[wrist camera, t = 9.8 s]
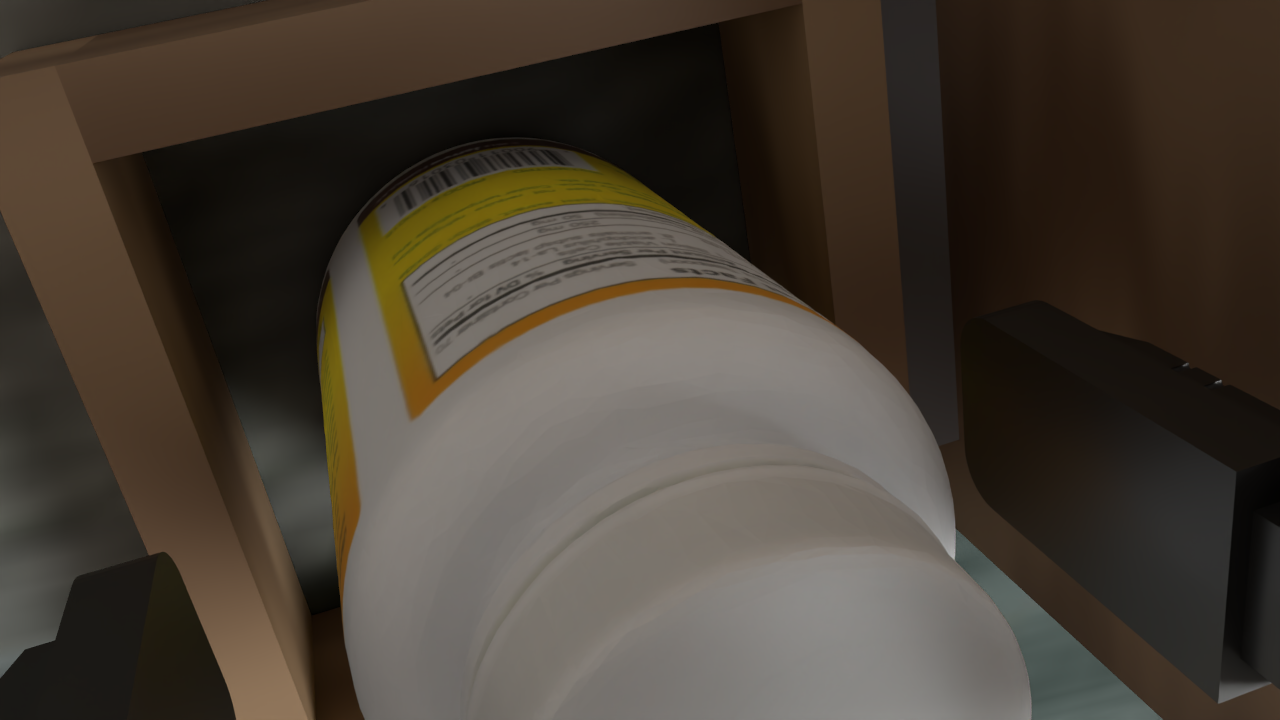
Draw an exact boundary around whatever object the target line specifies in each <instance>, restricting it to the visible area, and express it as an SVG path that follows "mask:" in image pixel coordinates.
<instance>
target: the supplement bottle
mask: <svg viewBox="0 0 1280 720" xmlns="http://www.w3.org/2000/svg"><path fill="white" fill-rule="evenodd" d="M316 341H317V359H318V369H319V378H320V385H321V395H322V405H323V417H324V431H325V437H326V453H327V464H328V473H329V484H330V495H331V502H332V512H333V529H334V539H335V549H336V559H337V573H338V580H339V591H340V600H341V614H342V624H343V633H344V642H345V647H346V651H347V656H348V661H349V665H350V670H351V675H352V679H353V684H354V688H355V692H356V696H357V699H358V703H359V707H360V709H361V712H362V714H363V717H364V719H365V720H1031V705H1032V703H1031V693H1030V683H1029V677H1028V673H1027V669H1026V665H1025V661H1024V658H1023V655H1022V653H1021V650H1020V647H1019V644H1018V642H1017V640H1016V637H1015V635H1014V633H1013V631H1012V629H1011V627H1010V625H1009V624H1008V622H1007V621H1006V619H1005V618H1004V616H1003V615H1002V613H1001V612H1000V611H999V609H998V608H997V606H996V605H995V603H994V602H993V600H992V599H991V598H990V596H989V595H988V594H987V593H986V592H985V591H984V590H983V589H982V588H981V587H980V586H979V585H978V584H977V583H976V582H975V581H974V580H973V579H972V578H971V577H970V576H969V575H968V573H967V572H966V571H965V570H964V569H963V568H962V567H961V566H960V565H959V564H958V563H957V562H956V561H955V514H954V505H953V497H952V493H951V488H950V483H949V478H948V475H947V471H946V468H945V464H944V461H943V458H942V454H941V451H940V449H939V447H938V444H937V442H936V440H935V437H934V435H933V433H932V431H931V429H930V428H929V426H928V424H927V422H926V421H925V419H924V417H923V415H922V413H921V412H920V410H919V408H918V407H917V405H916V404H915V402H914V401H913V400H912V398H911V397H910V395H909V394H908V393H907V392H906V390H905V389H904V388H903V387H902V385H901V384H900V383H899V382H898V380H897V379H896V378H895V377H894V376H893V375H892V374H891V373H890V372H889V371H888V370H887V369H886V368H885V367H884V366H883V365H882V364H881V363H880V362H879V361H878V360H877V359H876V358H874V357H873V356H872V355H871V354H870V353H869V352H868V351H867V350H866V349H865V348H864V347H863V346H862V345H861V344H859V343H858V342H857V341H856V340H855V339H853V338H852V337H851V336H849V335H848V334H847V333H845V332H844V331H843V330H842V329H840V328H839V327H837V326H836V325H834V324H833V323H832V322H830V321H829V320H828V319H826V318H825V317H824V316H822V315H821V314H819V313H818V312H816V311H815V310H813V309H812V308H811V307H810V306H808V305H807V304H805V303H804V302H803V301H801V300H800V299H798V298H797V297H795V296H794V295H793V294H791V293H790V292H789V291H787V290H786V289H785V288H783V287H782V286H781V285H779V284H778V283H777V282H775V281H774V280H773V279H771V278H770V277H769V276H767V275H766V274H765V273H763V272H762V271H761V270H759V269H758V268H756V267H755V266H754V265H752V264H751V263H750V262H748V261H747V260H746V259H744V258H743V257H742V256H740V255H739V254H738V253H737V252H735V251H734V250H732V249H731V248H730V247H729V246H727V245H726V244H725V243H724V242H722V241H720V240H719V239H718V238H716V237H715V236H714V235H713V234H711V233H710V232H708V231H707V230H705V229H704V228H702V227H701V226H699V225H698V224H697V223H695V222H694V221H693V220H691V219H690V218H688V217H687V216H686V215H685V214H683V213H682V212H680V211H679V210H678V209H676V208H675V207H674V206H672V205H671V204H669V203H668V202H667V201H665V200H664V199H663V198H661V197H660V196H658V195H657V194H656V193H654V192H653V191H652V190H650V189H649V188H648V187H646V186H645V185H644V184H643V183H641V182H640V181H639V180H638V179H636V178H635V177H633V176H632V175H630V174H629V173H627V172H626V171H625V170H623V169H622V168H620V167H619V166H617V165H615V164H613V163H611V162H609V161H607V160H605V159H603V158H601V157H599V156H597V155H595V154H593V153H590V152H588V151H586V150H583V149H580V148H577V147H574V146H571V145H567V144H564V143H559V142H555V141H551V140H544V139H536V138H519V137H512V138H494V139H486V140H479V141H475V142H470V143H466V144H463V145H459V146H455V147H453V148H450V149H447V150H444V151H441V152H439V153H436V154H434V155H432V156H430V157H428V158H426V159H424V160H422V161H420V162H418V163H417V164H415V165H413V166H411V167H410V168H408V169H406V170H405V171H403V172H402V173H400V174H399V175H398V176H396V177H395V178H393V179H392V180H391V181H390V182H388V183H387V184H386V185H385V186H384V187H383V188H381V189H380V190H379V191H378V192H377V193H376V194H375V195H374V196H373V197H372V198H371V199H370V200H369V201H368V202H367V203H366V204H365V205H364V207H363V208H362V209H361V210H360V211H359V212H358V213H357V215H356V216H355V217H354V219H353V220H352V221H351V223H350V224H349V226H348V227H347V229H346V230H345V232H344V233H343V235H342V237H341V238H340V240H339V242H338V244H337V246H336V248H335V250H334V252H333V254H332V257H331V259H330V261H329V264H328V266H327V269H326V273H325V276H324V279H323V282H322V287H321V291H320V295H319V300H318V308H317V320H316Z"/></svg>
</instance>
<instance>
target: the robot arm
mask: <svg viewBox="0 0 1280 720" xmlns="http://www.w3.org/2000/svg"><path fill="white" fill-rule="evenodd" d="M960 351H961V374H962V397H963V420H964V443H965V455H966V461H967V465H968V468H969V472H970V474H971V477H972V480H973V482H974V484H975V486H976V488H977V490H978V492H979V493H980V495H981V496H982V498H983V499H984V500H985V502H986V503H987V504H988V505H989V506H990V507H991V508H992V509H993V510H994V511H995V512H996V513H998V514H999V515H1000V516H1001V517H1002V518H1003V519H1004V520H1006V521H1007V522H1008V523H1009V524H1010V525H1011V526H1013V527H1014V528H1015V529H1016V530H1017V531H1018V532H1020V533H1021V534H1022V535H1023V536H1024V537H1025V538H1026V539H1028V540H1029V541H1030V542H1031V543H1032V544H1033V545H1035V546H1036V547H1037V548H1038V549H1039V550H1040V551H1042V552H1043V553H1044V554H1045V555H1046V556H1047V557H1048V558H1050V559H1051V560H1052V561H1053V562H1054V563H1055V564H1057V565H1058V566H1059V567H1060V568H1061V569H1062V570H1064V571H1065V572H1066V573H1067V574H1068V575H1069V576H1070V577H1072V578H1073V579H1074V580H1075V581H1076V582H1077V583H1079V584H1080V585H1081V586H1082V587H1083V588H1084V589H1086V590H1087V591H1088V592H1089V593H1090V594H1091V595H1092V596H1094V597H1095V598H1096V599H1097V600H1098V601H1099V602H1101V603H1102V604H1103V605H1104V606H1105V607H1106V608H1108V609H1109V610H1110V611H1111V612H1112V613H1113V614H1114V615H1116V616H1117V617H1118V618H1119V619H1120V620H1121V621H1123V622H1124V623H1125V624H1126V625H1127V626H1128V627H1130V628H1131V629H1132V630H1133V631H1134V632H1135V633H1136V634H1138V635H1139V636H1140V637H1141V638H1142V639H1143V640H1145V641H1146V642H1147V643H1148V644H1149V645H1150V646H1151V647H1153V648H1154V649H1155V650H1156V651H1157V652H1158V653H1160V654H1161V655H1162V656H1163V657H1164V658H1165V659H1167V660H1168V661H1169V662H1170V663H1171V664H1172V665H1173V666H1175V667H1176V668H1177V669H1178V670H1179V671H1180V672H1182V673H1183V674H1184V675H1185V676H1186V677H1187V678H1189V679H1190V680H1191V681H1192V682H1193V683H1194V684H1195V685H1197V686H1198V687H1199V688H1200V689H1201V690H1202V691H1204V692H1205V693H1206V694H1207V695H1208V696H1209V697H1211V698H1212V699H1213V700H1214V701H1215V702H1216V703H1217V704H1220V703H1222V702H1225V701H1227V700H1230V699H1233V698H1235V697H1238V696H1240V695H1243V694H1246V693H1248V692H1251V691H1253V690H1256V689H1258V688H1261V687H1264V686H1266V685H1269V684H1271V683H1272V684H1273V685H1275V686H1276V687H1277V688H1278V689H1280V410H1279V409H1277V408H1275V407H1273V406H1271V405H1269V404H1267V403H1265V402H1263V401H1261V400H1259V399H1258V398H1256V397H1254V396H1252V395H1250V394H1248V393H1246V392H1244V391H1242V390H1240V389H1238V388H1236V387H1234V386H1232V385H1226V386H1224V385H1223V384H1222V380H1221V379H1219V378H1217V377H1215V376H1213V375H1211V374H1209V373H1207V372H1205V371H1203V370H1201V369H1199V368H1197V367H1195V368H1192V369H1191V368H1190V367H1189V363H1188V362H1186V361H1184V360H1182V359H1180V358H1178V357H1176V356H1174V355H1172V354H1170V353H1168V352H1166V351H1164V350H1163V349H1161V348H1159V347H1157V346H1155V345H1153V344H1151V343H1149V342H1145V341H1141V340H1137V339H1133V338H1129V337H1125V336H1121V335H1116V334H1112V333H1108V332H1104V331H1100V330H1097V329H1095V328H1093V327H1092V326H1090V325H1088V324H1086V323H1084V322H1082V321H1080V320H1078V319H1077V318H1075V317H1073V316H1071V315H1069V314H1067V313H1065V312H1063V311H1062V310H1060V309H1058V308H1056V307H1054V306H1052V305H1050V304H1048V303H1046V302H1044V301H1040V300H1034V301H1030V302H1026V303H1023V304H1019V305H1016V306H1013V307H1009V308H1006V309H1002V310H999V311H995V312H992V313H988V314H985V315H982V316H978V317H975V318H972V319H970V320H968V321H967V323H966V324H965V325H964V327H963V330H962V333H961V340H960ZM0 720H236V716H235V711H234V707H233V703H232V699H231V696H230V693H229V690H228V687H227V684H226V682H225V679H224V677H223V674H222V672H221V669H220V667H219V665H218V662H217V660H216V658H215V655H214V653H213V650H212V648H211V646H210V643H209V641H208V638H207V636H206V634H205V631H204V629H203V627H202V624H201V622H200V619H199V617H198V615H197V612H196V610H195V607H194V605H193V603H192V600H191V598H190V596H189V593H188V591H187V588H186V586H185V584H184V581H183V579H182V576H181V574H180V572H179V570H178V568H177V566H176V564H175V562H174V561H173V560H172V558H171V557H170V556H169V555H168V554H167V553H166V552H160V553H156V554H153V555H149V556H146V557H142V558H139V559H135V560H132V561H129V562H125V563H122V564H118V565H115V566H111V567H108V568H104V569H101V570H98V571H94V572H91V573H87V574H84V575H80V576H78V577H76V579H75V580H74V582H73V584H72V587H71V590H70V594H69V597H68V600H67V603H66V607H65V610H64V613H63V617H62V620H61V623H60V626H59V630H58V633H57V636H56V640H55V641H52V642H49V643H45V644H42V645H39V646H35V647H32V648H29V649H25V650H24V651H23V653H22V654H21V655H20V656H19V657H18V658H17V660H16V661H15V662H14V663H13V664H12V665H11V667H10V668H9V669H8V670H7V671H6V672H5V674H4V675H3V676H2V677H1V678H0Z"/></svg>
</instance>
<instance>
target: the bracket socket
mask: <svg viewBox="0 0 1280 720" xmlns="http://www.w3.org/2000/svg"><path fill="white" fill-rule="evenodd" d="M718 22H719V29H720V37H721V44H722V52H723V59H724V67H725V74H726V81H727V89H728V96H729V104H730V111H731V118H732V126H733V133H734V141H735V148H736V156H737V163H738V170H739V178H740V185H741V193H742V200H743V207H744V215H745V222H746V230H747V237H748V245H749V252H750V259H751V264H752V265H754V266H755V267H756V268H758V269H759V270H761V271H762V272H763V273H765V274H766V275H767V276H769V277H770V278H771V279H773V280H774V281H775V282H777V283H778V284H779V285H781V286H782V287H783V288H785V289H786V290H787V291H789V292H790V293H791V294H793V295H794V296H795V297H797V298H798V299H800V300H801V301H803V302H804V303H805V304H807V305H808V306H810V307H811V308H812V309H813V310H815V311H816V312H818V313H819V314H821V315H822V316H824V317H825V318H826V319H828V320H829V321H830V322H832V323H833V324H834V325H836V326H837V327H839V328H840V329H842V330H843V331H844V332H845V333H847V334H848V335H849V336H851V337H852V338H853V339H855V340H856V341H857V342H858V343H859V344H861V345H862V346H863V347H864V348H865V349H866V350H867V351H868V352H869V353H870V354H871V355H872V356H873V357H874V358H876V359H877V360H878V361H879V362H880V363H881V364H882V365H883V366H884V367H885V368H886V369H887V370H888V371H889V372H890V373H891V374H892V375H893V376H894V377H895V378H896V379H897V380H898V382H899V383H900V384H901V385H902V387H903V388H904V389H905V390H906V392H907V393H908V394H909V395H910V397H911V398H912V400H913V401H914V402H915V404H916V405H917V407H918V408H919V410H920V412H921V413H922V415H923V417H924V419H925V421H926V422H927V424H928V426H929V428H930V429H931V431H932V433H933V435H934V437H935V440H936V442H937V444H938V447H939V449H940V451H941V454H942V458H943V461H944V464H945V468H946V471H947V475H948V478H949V483H950V488H951V493H952V497H953V505H954V514H955V528H956V529H957V530H958V531H959V532H960V533H961V534H962V535H963V536H965V537H966V538H967V539H968V540H969V541H970V542H971V543H972V544H973V545H974V546H975V547H977V548H978V549H979V550H980V551H981V552H982V553H983V554H984V555H985V556H986V557H987V558H988V559H990V560H991V561H992V562H993V563H994V564H995V565H996V566H997V567H998V568H999V569H1000V570H1001V571H1003V572H1004V573H1005V574H1006V575H1007V576H1008V577H1009V578H1010V579H1011V580H1012V581H1013V582H1015V583H1016V584H1017V585H1018V586H1019V587H1020V588H1021V589H1022V590H1023V591H1024V592H1025V593H1026V594H1028V595H1029V596H1030V597H1031V598H1032V599H1033V600H1034V601H1035V602H1036V603H1037V604H1038V605H1040V606H1041V607H1042V608H1043V609H1044V610H1045V611H1046V612H1047V613H1048V614H1049V615H1050V616H1051V617H1053V618H1054V619H1055V620H1056V621H1057V622H1058V623H1059V624H1060V625H1061V626H1062V627H1063V628H1064V629H1066V630H1067V631H1068V632H1069V633H1070V634H1071V635H1072V636H1073V637H1074V638H1075V639H1076V640H1078V641H1079V642H1080V643H1081V644H1082V645H1083V646H1084V647H1085V648H1086V649H1087V650H1088V651H1089V652H1091V653H1092V654H1093V655H1094V656H1095V657H1096V658H1097V659H1098V660H1099V661H1100V662H1101V663H1102V664H1104V665H1105V666H1106V667H1107V668H1108V669H1109V670H1110V671H1111V672H1112V673H1113V674H1114V675H1116V676H1117V677H1118V678H1119V679H1120V680H1121V681H1122V682H1123V683H1124V684H1125V685H1126V686H1127V687H1129V688H1130V689H1131V690H1132V691H1133V692H1134V693H1135V694H1136V695H1137V696H1138V697H1139V698H1140V699H1142V700H1143V701H1144V702H1145V703H1146V704H1147V705H1148V706H1149V707H1150V708H1151V709H1152V710H1154V711H1155V712H1156V713H1157V714H1158V715H1159V716H1160V717H1161V718H1162V719H1163V720H1280V689H1278V688H1277V687H1276V686H1275V685H1273V684H1272V683H1271V684H1269V685H1266V686H1264V687H1261V688H1258V689H1256V690H1253V691H1251V692H1248V693H1246V694H1243V695H1240V696H1238V697H1235V698H1233V699H1230V700H1227V701H1225V702H1222V703H1220V704H1217V703H1216V702H1215V701H1214V700H1213V699H1212V698H1211V697H1209V696H1208V695H1207V694H1206V693H1205V692H1204V691H1202V690H1201V689H1200V688H1199V687H1198V686H1197V685H1195V684H1194V683H1193V682H1192V681H1191V680H1190V679H1189V678H1187V677H1186V676H1185V675H1184V674H1183V673H1182V672H1180V671H1179V670H1178V669H1177V668H1176V667H1175V666H1173V665H1172V664H1171V663H1170V662H1169V661H1168V660H1167V659H1165V658H1164V657H1163V656H1162V655H1161V654H1160V653H1158V652H1157V651H1156V650H1155V649H1154V648H1153V647H1151V646H1150V645H1149V644H1148V643H1147V642H1146V641H1145V640H1143V639H1142V638H1141V637H1140V636H1139V635H1138V634H1136V633H1135V632H1134V631H1133V630H1132V629H1131V628H1130V627H1128V626H1127V625H1126V624H1125V623H1124V622H1123V621H1121V620H1120V619H1119V618H1118V617H1117V616H1116V615H1114V614H1113V613H1112V612H1111V611H1110V610H1109V609H1108V608H1106V607H1105V606H1104V605H1103V604H1102V603H1101V602H1099V601H1098V600H1097V599H1096V598H1095V597H1094V596H1092V595H1091V594H1090V593H1089V592H1088V591H1087V590H1086V589H1084V588H1083V587H1082V586H1081V585H1080V584H1079V583H1077V582H1076V581H1075V580H1074V579H1073V578H1072V577H1070V576H1069V575H1068V574H1067V573H1066V572H1065V571H1064V570H1062V569H1061V568H1060V567H1059V566H1058V565H1057V564H1055V563H1054V562H1053V561H1052V560H1051V559H1050V558H1048V557H1047V556H1046V555H1045V554H1044V553H1043V552H1042V551H1040V550H1039V549H1038V548H1037V547H1036V546H1035V545H1033V544H1032V543H1031V542H1030V541H1029V540H1028V539H1026V538H1025V537H1024V536H1023V535H1022V534H1021V533H1020V532H1018V531H1017V530H1016V529H1015V528H1014V527H1013V526H1011V525H1010V524H1009V523H1008V522H1007V521H1006V520H1004V519H1003V518H1002V517H1001V516H1000V515H999V514H998V513H996V512H995V511H994V510H993V509H992V508H991V507H990V506H989V505H988V504H987V503H986V502H985V500H984V499H983V498H982V496H981V495H980V493H979V492H978V490H977V488H976V486H975V484H974V482H973V480H972V477H971V474H970V472H969V468H968V465H967V461H966V455H965V443H964V420H963V397H962V374H961V351H960V340H961V333H962V330H963V327H964V325H965V324H966V323H967V321H968V320H970V319H972V318H975V317H978V316H982V315H985V314H988V313H992V312H995V311H999V310H1002V309H1006V308H1009V307H1013V306H1016V305H1019V304H1023V303H1026V302H1030V301H1034V300H1040V301H1044V302H1046V303H1048V304H1050V305H1052V306H1054V307H1056V308H1058V309H1060V310H1062V311H1063V312H1065V313H1067V314H1069V315H1071V316H1073V317H1075V318H1077V319H1078V320H1080V321H1082V322H1084V323H1086V324H1088V325H1090V326H1092V327H1093V328H1095V329H1097V330H1100V331H1104V332H1108V333H1112V334H1116V335H1121V336H1125V337H1129V338H1133V339H1137V340H1141V341H1145V342H1149V343H1151V344H1153V345H1155V346H1157V347H1159V348H1161V349H1163V350H1164V351H1166V352H1168V353H1170V354H1172V355H1174V356H1176V357H1178V358H1180V359H1182V360H1184V361H1186V362H1188V363H1189V367H1190V368H1191V369H1192V368H1195V367H1197V368H1199V369H1201V370H1203V371H1205V372H1207V373H1209V374H1211V375H1213V376H1215V377H1217V378H1219V379H1221V380H1222V384H1223V385H1224V386H1226V385H1232V386H1234V387H1236V388H1238V389H1240V390H1242V391H1244V392H1246V393H1248V394H1250V395H1252V396H1254V397H1256V398H1258V399H1259V400H1261V401H1263V402H1265V403H1267V404H1269V405H1271V406H1273V407H1275V408H1277V409H1279V410H1280V0H267V1H262V2H257V3H252V4H247V5H242V6H238V7H233V8H228V9H223V10H218V11H213V12H208V13H203V14H198V15H193V16H188V17H183V18H179V19H174V20H169V21H164V22H159V23H154V24H149V25H144V26H139V27H134V28H129V29H125V30H120V31H115V32H110V33H105V34H100V35H95V36H90V37H85V38H80V39H75V40H70V41H66V42H61V43H56V44H51V45H46V46H41V47H36V48H31V49H26V50H21V51H16V52H12V53H11V54H9V55H7V56H5V57H3V58H2V59H0V211H1V214H2V216H3V218H4V221H5V223H6V225H7V228H8V230H9V232H10V235H11V237H12V239H13V242H14V244H15V246H16V248H17V251H18V253H19V255H20V258H21V260H22V262H23V265H24V267H25V269H26V272H27V274H28V276H29V279H30V281H31V283H32V286H33V288H34V290H35V293H36V295H37V297H38V299H39V302H40V304H41V306H42V309H43V311H44V313H45V316H46V318H47V320H48V323H49V325H50V327H51V330H52V332H53V334H54V337H55V339H56V341H57V343H58V346H59V348H60V350H61V353H62V355H63V357H64V360H65V362H66V364H67V367H68V369H69V371H70V374H71V376H72V378H73V381H74V383H75V385H76V387H77V390H78V392H79V394H80V397H81V399H82V401H83V404H84V406H85V408H86V411H87V413H88V415H89V418H90V420H91V422H92V425H93V427H94V429H95V432H96V434H97V436H98V438H99V441H100V443H101V445H102V448H103V450H104V452H105V455H106V457H107V459H108V462H109V464H110V466H111V469H112V471H113V473H114V476H115V478H116V480H117V482H118V485H119V487H120V489H121V492H122V494H123V496H124V499H125V501H126V503H127V506H128V508H129V510H130V513H131V515H132V517H133V520H134V522H135V524H136V526H137V529H138V531H139V533H140V536H141V538H142V540H143V543H144V545H145V547H146V550H147V552H148V554H149V555H153V554H156V553H160V552H166V553H167V554H168V555H169V556H170V557H171V558H172V560H173V561H174V562H175V564H176V566H177V568H178V570H179V572H180V574H181V576H182V579H183V581H184V584H185V586H186V588H187V591H188V593H189V596H190V598H191V600H192V603H193V605H194V607H195V610H196V612H197V615H198V617H199V619H200V622H201V624H202V627H203V629H204V631H205V634H206V636H207V638H208V641H209V643H210V646H211V648H212V650H213V653H214V655H215V658H216V660H217V662H218V665H219V667H220V669H221V672H222V674H223V677H224V679H225V682H226V684H227V687H228V690H229V693H230V696H231V699H232V703H233V707H234V711H235V716H236V720H365V719H364V717H363V714H362V712H361V709H360V707H359V703H358V699H357V696H356V692H355V688H354V684H353V679H352V675H351V670H350V665H349V661H348V656H347V651H346V647H345V642H344V633H343V624H342V614H341V607H338V608H335V609H332V610H328V611H325V612H322V613H319V614H316V615H311V613H310V610H309V607H308V605H307V602H306V599H305V596H304V594H303V591H302V588H301V585H300V583H299V580H298V577H297V575H296V572H295V569H294V566H293V564H292V561H291V558H290V555H289V553H288V550H287V547H286V545H285V542H284V539H283V536H282V534H281V531H280V528H279V525H278V523H277V520H276V517H275V515H274V512H273V509H272V506H271V504H270V501H269V498H268V495H267V493H266V490H265V487H264V485H263V482H262V479H261V476H260V474H259V471H258V468H257V465H256V463H255V460H254V457H253V455H252V452H251V449H250V446H249V444H248V441H247V438H246V435H245V433H244V430H243V427H242V425H241V422H240V419H239V416H238V414H237V411H236V408H235V405H234V403H233V400H232V397H231V395H230V392H229V389H228V386H227V384H226V381H225V378H224V375H223V373H222V370H221V367H220V365H219V362H218V359H217V356H216V354H215V351H214V348H213V345H212V343H211V340H210V337H209V335H208V332H207V329H206V326H205V324H204V321H203V318H202V315H201V313H200V310H199V307H198V305H197V302H196V299H195V296H194V294H193V291H192V288H191V285H190V283H189V280H188V277H187V275H186V272H185V269H184V266H183V264H182V261H181V258H180V255H179V253H178V250H177V247H176V245H175V242H174V239H173V236H172V234H171V231H170V228H169V225H168V223H167V220H166V217H165V215H164V212H163V209H162V206H161V204H160V201H159V198H158V195H157V193H156V190H155V187H154V185H153V182H152V179H151V176H150V174H149V171H148V168H147V165H146V163H145V160H144V157H143V155H142V152H145V151H149V150H154V149H158V148H163V147H167V146H172V145H176V144H180V143H185V142H189V141H194V140H198V139H203V138H207V137H211V136H216V135H220V134H225V133H229V132H234V131H238V130H243V129H247V128H251V127H256V126H260V125H265V124H269V123H274V122H278V121H283V120H287V119H291V118H296V117H300V116H305V115H309V114H314V113H318V112H322V111H327V110H331V109H336V108H340V107H345V106H349V105H354V104H358V103H362V102H367V101H371V100H376V99H380V98H385V97H389V96H394V95H398V94H402V93H407V92H411V91H416V90H420V89H425V88H429V87H433V86H438V85H442V84H447V83H451V82H456V81H460V80H465V79H469V78H473V77H478V76H482V75H487V74H491V73H496V72H500V71H505V70H509V69H513V68H518V67H522V66H527V65H531V64H536V63H540V62H544V61H549V60H553V59H558V58H562V57H567V56H571V55H576V54H580V53H584V52H589V51H593V50H598V49H602V48H607V47H611V46H616V45H620V44H624V43H629V42H633V41H638V40H642V39H647V38H651V37H655V36H660V35H664V34H669V33H673V32H678V31H682V30H687V29H691V28H695V27H700V26H704V25H709V24H713V23H718Z"/></svg>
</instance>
